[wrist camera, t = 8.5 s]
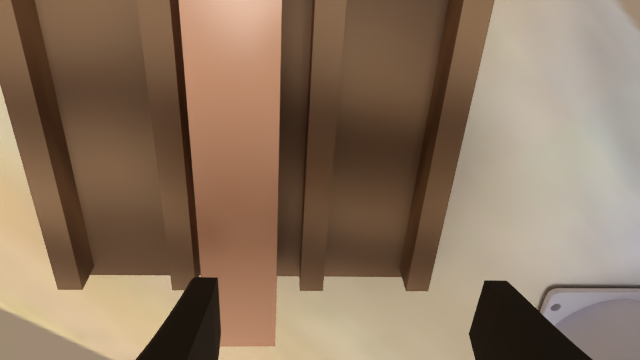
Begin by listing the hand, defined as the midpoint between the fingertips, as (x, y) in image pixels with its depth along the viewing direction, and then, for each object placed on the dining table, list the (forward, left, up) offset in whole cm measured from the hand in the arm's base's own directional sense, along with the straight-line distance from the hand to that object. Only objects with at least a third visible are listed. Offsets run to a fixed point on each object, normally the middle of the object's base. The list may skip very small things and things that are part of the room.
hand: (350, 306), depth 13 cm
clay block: (+2, +3, -8) cm, 9 cm away
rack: (+2, +3, -9) cm, 9 cm away
